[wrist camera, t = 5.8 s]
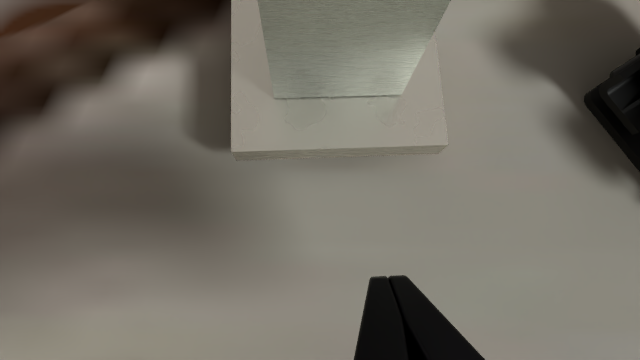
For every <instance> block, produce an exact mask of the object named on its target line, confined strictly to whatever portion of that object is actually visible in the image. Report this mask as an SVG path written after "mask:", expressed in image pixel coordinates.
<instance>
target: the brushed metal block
mask: <svg viewBox="0 0 640 360" xmlns="http://www.w3.org/2000/svg"><path fill="white" fill-rule="evenodd" d="M257 1H258V7H259V12H260V18H261V24H262V30H263V36H264V42H265V48H266V54H267V60H268V65H269V71H270V77H271V83H272V89H273V95H274V98H301V97H338V96H376V95H402V93H403V91H404V89H405V87H406V85H407V83H408V82H409V80H410V78H411V76H412V74H413V72H414V70H415V68H416V66H417V64H418V62H419V60H420V59H421V57H422V55H423V53H424V51H425V49H426V47H427V45H428V43H429V41H430V39H431V37H432V35H433V34H434V32H435V30H436V28H437V26H438V24H439V22H440V20H441V18H442V16H443V14H444V12H445V11H446V9H447V7H448V5H449V3H450V1H451V0H257Z"/></svg>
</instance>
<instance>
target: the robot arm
mask: <svg viewBox="0 0 640 360" xmlns="http://www.w3.org/2000/svg"><path fill="white" fill-rule="evenodd" d="M354 360H485V359H484V358H483V357H482V356H481V355H480V354H479V353H478V352H477V351H476V350H475V348H474V347H473V346H472V345H471V344H470V343H469V342H468V341H467V340H466V339H465V338H464V337H463V336H462V335H461V334H460V332H459V331H458V330H457V329H456V328H455V327H454V326H453V325H452V324H451V323H450V322H449V321H448V320H447V319H446V318H445V317H444V315H443V314H442V313H441V312H440V311H439V310H438V309H437V308H436V307H435V306H434V305H433V304H432V303H431V302H430V301H429V299H428V298H427V297H426V296H425V295H424V294H423V293H422V292H421V291H420V290H419V289H418V288H417V287H416V286H415V285H414V284H413V282H412V281H411V280H410V279H409V278H408V277H406V276H404V275H400V276H390V277H388V278H387V277H386V276H379V277H371V278H370V280H369V285H368V290H367V295H366V300H365V305H364V311H363V316H362V321H361V326H360V331H359V336H358V341H357V346H356V351H355V356H354Z"/></svg>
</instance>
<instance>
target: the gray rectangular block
mask: <svg viewBox="0 0 640 360" xmlns="http://www.w3.org/2000/svg"><path fill="white" fill-rule="evenodd" d="M447 146H448V137H447V128H446V120H445V111H444V103H443V94H442V86H441V77H440V69H439V60H438V52H437V43H436V35H435V32H434V34H433V35H432V37H431V39H430V41H429V43H428V45H427V47H426V49H425V51H424V53H423V55H422V57H421V59H420V60H419V62H418V64H417V66H416V68H415V70H414V72H413V74H412V76H411V78H410V80H409V82H408V83H407V85H406V87H405V89H404V91H403V93H402V95H376V96H338V97H301V98H274V95H273V89H272V83H271V77H270V71H269V65H268V60H267V54H266V48H265V42H264V36H263V30H262V24H261V18H260V12H259V7H258V1H257V0H231V153H232V154H233V156H234V158H235V159H236V161H241V160H271V159H301V158H330V157H360V156H390V155H420V154H439V153H440V152H441V151H442V150H443V149H444V148H445V147H447Z"/></svg>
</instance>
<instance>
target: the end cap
mask: <svg viewBox="0 0 640 360" xmlns="http://www.w3.org/2000/svg"><path fill="white" fill-rule="evenodd" d="M584 102H585V104H586V106H587V108H588V109H589V110H590V111H591V112H592V114H593V115H594V116H595V117H596V119H597V120H598V121H599V122H600V124H601V125H602V126H603V127H604V128H605V130H606V131H607V132H608V133H609V135H610V136H611V137H612V138H613V139H614V141H615V142H616V143H617V144H618V146H619V147H620V148H621V149H622V151H623V152H624V153H625V154H626V155H627V157H628V158H629V159H630V160H631V162H632V163H633V164H634V165H635V167H636V168H637V169H638V170H639V171H640V48H639V49H638V50H637V51H636V56H635V57H634V58H632V59H631V60H629V61H628V62H626V63H625V64H623V65H621V66H620V67H618V68H617V69H615V70H614V71H612V72H611V74H610V78H609V79H608V80H606V81H605V82H603V83H602V84H600V85H598V86H597V87H595V88H594V89H592V90H591V91H589V92H588V93H587V94H586V95H585V97H584Z"/></svg>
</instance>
